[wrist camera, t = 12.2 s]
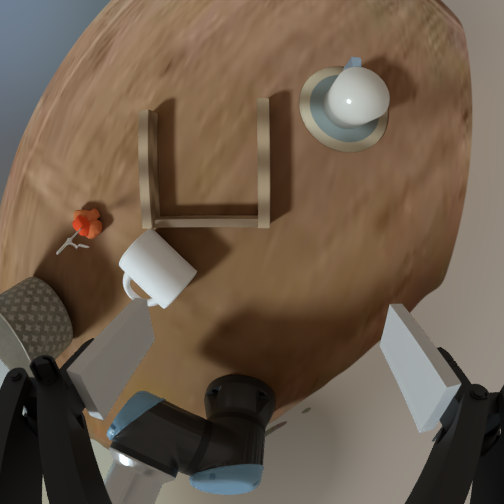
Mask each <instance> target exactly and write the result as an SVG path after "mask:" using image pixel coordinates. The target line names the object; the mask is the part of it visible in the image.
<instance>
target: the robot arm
mask: <svg viewBox="0 0 504 504" xmlns="http://www.w3.org/2000/svg"><path fill="white" fill-rule="evenodd" d="M154 341H155V338H154V333H153V328H152V324H151V319H150V314H149V309H148V303H147V299H142V298H134V299H133V300H132V301H131V302H130V303H129V304H128V305H127V306H126V307H125V308H124V309H123V310H122V311H121V312H120V313H119V314H118V315H117V316H116V317H115V318H114V320H113V321H112V322H111V323H110V324H109V325H108V326H107V327H106V328H105V329H104V330H103V331H102V332H101V333H100V334H99V335H98V336H97V337H96V338H95V339H94V338H92V339H90V340H88V341H87V342H85V343H84V344H83V345H82V346H81V347H80V348H79V349H78V350H77V351H76V352H75V353H74V355H72V356H71V357H70V358H69V359H68V361H67V362H66V363H65V364H64V365H63V366H62V367H61V368H60V369H59V368H58V366H57V364H56V361H55V359H54V358H53V357H52V356H50V355H41V356H39V357H37V358H35V359H33V361H32V362H31V363H30V366H29V367H30V369H31V371H32V373H33V375H34V377H29V375H28V374H27V372H26V370H25V369H24V368H21V367H18V368H14V369H12V370H10V371H9V372H8V374H7V375H6V377H5V379H4V381H3V384H2V386H1V388H0V504H42V478H43V476H44V481H45V486H46V491H47V496H48V500H49V504H155V501H156V499H157V497H158V494H159V492H160V489H161V487H162V485H163V484H164V483H167V482H169V481H173V480H174V479H175V478H176V475H177V473H178V472H181V473H184V474H186V475H189V476H190V479H189V480H190V483H191V485H192V486H193V487H195V488H197V489H198V490H201V491H204V492H208V493H214V494H224V495H229V494H230V495H231V494H241V493H246V492H250V491H252V490H254V489H255V488H257V487H258V486H259V484H260V482H261V477H262V471H263V469H264V467H263V458H264V442H265V428H266V426H267V425H268V423H269V421H270V419H271V417H272V415H273V413H274V410H275V395H274V393H273V391H272V390H271V388H270V387H269V386H267V385H266V384H265V383H263V382H261V381H259V380H257V379H255V378H251V377H248V376H241V375H230V376H224V377H220V378H218V379H216V380H214V381H213V382H211V383H210V385H209V386H208V388H207V390H206V393H205V398H204V403H205V410H206V417H207V420H206V419H204V418H202V417H200V416H197V415H195V414H193V413H190V412H188V411H186V410H184V409H182V408H180V407H178V406H176V405H174V404H172V403H170V402H168V401H166V400H165V399H164V398H160V397H157V396H155V395H153V394H151V393H149V392H147V391H139V392H137V393H135V394H134V395H133V396H132V397H131V398H130V399H129V400H128V402H127V403H126V404H125V405H124V407H123V408H122V409H121V410H120V412H119V413H118V415H117V416H116V417H115V419H114V421H113V423H112V424H111V426H110V427H109V429H108V431H107V437H108V438H109V439H110V440H111V441H112V440H113V442H112V444H111V446H110V448H109V450H110V452H111V455H112V457H113V463H112V465H111V467H110V470H109V472H108V474H107V476H106V478H105V480H104V482H103V479H102V476H101V474H100V471H99V468H98V465H97V461H96V458H95V455H94V452H93V449H92V445H91V441H90V437H89V433H88V429H87V425H86V421H85V417H84V415H83V413H82V411H83V410H84V408H85V407H86V409H87V410H88V412H89V414H90V416H93V417H96V418H99V419H101V420H104V419H105V418H106V416H107V414H108V413H109V411H110V410H111V408H112V406H113V405H114V403H115V401H116V400H117V398H118V397H119V395H120V393H121V392H122V390H123V389H124V387H125V386H126V384H127V382H128V381H129V379H130V378H131V376H132V375H133V373H134V371H135V370H136V368H137V367H138V365H139V364H140V362H141V361H142V359H143V357H144V356H145V354H146V353H147V351H148V350H149V348H150V347H151V345H152V344H153V342H154ZM380 348H381V350H382V352H383V354H384V356H385V358H386V360H387V362H388V364H389V366H390V368H391V370H392V372H393V374H394V377H395V378H396V381H397V383H398V385H399V387H400V389H401V392H402V394H403V396H404V398H405V401H406V403H407V405H408V407H409V410H410V412H411V414H412V417H413V419H414V421H415V424H416V426H417V428H418V431H419V433H421V432H425V431H428V430H432V429H434V428H435V426H436V425H437V423H438V422H439V420H440V422H441V423H442V428H441V429H440V430H439V432H438V433H437V434H436V436H435V437H434V438H433V440H432V441H435V439H436V441H435V443H434V446H433V448H432V450H431V453H430V455H429V458H428V460H427V462H426V464H425V466H424V468H423V470H422V473H421V475H420V477H419V479H418V481H417V482H416V484H415V486H414V488H413V490H412V492H411V494H410V496H409V497H408V499H407V501H406V502H405V504H464V503H465V500H466V497H467V495H468V492H469V489H470V486H471V483H472V480H473V483H472V492H471V499H470V504H504V386H503V387H502V389H501V390H500V392H494V393H489V392H488V391H487V389H486V388H484V387H483V386H481V385H479V384H471V383H470V381H469V380H468V378H467V377H466V376H465V374H464V373H463V372H462V370H461V369H460V368H459V366H457V363H456V362H455V361H454V360H453V358H452V356H451V355H450V354H449V353H448V352H447V351H446V350H444V349H443V348H441V347H439V348H436V347H435V345H434V344H433V343H432V341H431V340H430V339H429V337H428V336H427V335H426V333H425V332H424V331H423V330H422V328H421V327H420V326H419V324H418V323H417V322H416V321H415V319H414V318H413V317H412V316H411V314H410V313H409V312H408V311H407V309H406V308H405V307H404V306H403V305H402V304H390V305H389V310H388V314H387V318H386V322H385V326H384V330H383V334H382V338H381V342H380ZM23 410H24V411H25V414H24V416H23V415H22V412H23ZM500 429H501V434H500Z"/></svg>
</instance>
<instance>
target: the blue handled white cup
mask: <svg viewBox="0 0 504 504" xmlns="http://www.w3.org/2000/svg"><path fill="white" fill-rule="evenodd" d="M389 101H390V96H389V91H388V88H387V86H386V84H385V83H384V81H383V80H382V79H381V78H380V77H379V76H378V75H377V74H376V73H374V72H373V71H371V70H369V69H366V68H362V66H361V58H357V57H351V58H350V60H349V61H348V63H347V64H346V66H345V67H344V68H343V71H342V72H341V73H340V74H339V76H338V77H337V79H336V80H335V82H334V83H333V84H332V86H331V87H330V89H329V90H328V92H327V93H326V95H325V97H324V99H323V110H324V113H325V115H326V117H327V118H328V120H329V121H330V122H331V123H332V124H334V125H335V126H337V127H339V128H342V129H355V128H357V127H359V126H361V125H364V124H366V123H368V122H370V121H372V120H374V119H376V118H378V117H380V116H382V115H383V114H384V113H385V112H386V110H387V109H388V106H389Z"/></svg>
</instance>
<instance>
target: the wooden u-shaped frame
mask: <svg viewBox="0 0 504 504" xmlns="http://www.w3.org/2000/svg"><path fill="white" fill-rule="evenodd" d="M157 117H158V113H156V112H153V111H151V110H143V111H139V133H138V146H139V182H140V199H141V213H142V224H143V228H160V227H258V228H270V104H269V98H257V137H258V215H201V216H160V205H159V186H158V156H157Z"/></svg>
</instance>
